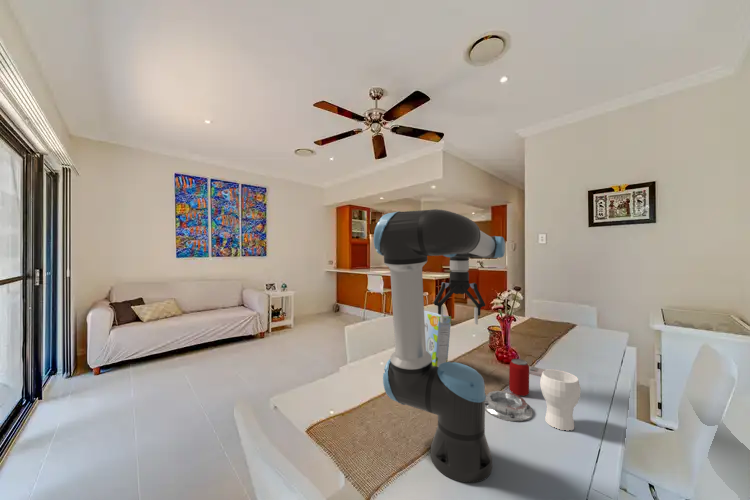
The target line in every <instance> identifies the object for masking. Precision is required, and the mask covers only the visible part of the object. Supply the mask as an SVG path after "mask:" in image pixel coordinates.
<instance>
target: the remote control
mask: <svg viewBox="0 0 750 500" xmlns="http://www.w3.org/2000/svg"><path fill="white" fill-rule="evenodd" d="M528 366H529V365H528ZM545 370H546V369H545V368H539V367H535V366H531V365H530V366H529V375H532V376H535V377H536V376H537V377H540V378H541V376H542V372H543V371H545Z"/></svg>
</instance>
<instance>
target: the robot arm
mask: <svg viewBox="0 0 750 500" xmlns="http://www.w3.org/2000/svg"><path fill="white" fill-rule="evenodd" d="M373 231H374V233H373V245H374V249H375V252H376V253H378V254H379V255H380V256H383V262H384V263H383V264H384V265H385V266H386V267H387V268H388V269H389V271H390V272H389V273H390V286H391V288H390V289H391V302H392V303H391V304H392V320H393V321H392V322H393V335H394V336H393V337H394V351H393V353H392V354H391V355H390V358H389V359H388V360H387V362H386V363H385V366H384V369H383V370H384V373H383V375H382V384H383V388H384V392H385V394H386V395H387V397H389V399H390V400H392V401H395V402H397V403H398V404H400V405H403V406H409V407H412V408H414V409H418V410H422V411H425V412H426V413H430V414H433V415H436V416H437V428H436V430H435V432H434V435H433V439H432V441H431V445H430V459H431V462H432V464H433V465H434V467H435V468H436V469H437V470H438V471H439V472H440V473H441V474H443V475H445V476H446V477H447V478H450V479H452V480H455V481H458V482H461V483H462V482H463V483H477V482H481V480H482V481H484V480H485V478H486V479H487V478H488V477H489V476H490V475H491V473H492V470H493V457H492V452H491V450H490V447H489V443H488V440H487V437H486V432H485V431H486V427H485V424H486V423H485V422H486V411H485V399H486V396H487V394H486V386H485V379H484V377H483V376H482V374H481V373H480V372H478V370H476V369H474V368H473V367H471V366H468V365H466V364H463V363H461V362H454V361H453V362H451V361H447V362H444V363H442V364H440V365H439V367H436V366H433V365H432V357H431V355H430V354H429V353H428V352H427V351H426V341H425V320H424V310H425V307H424V306H425V304H424V303H425V302H424V301H425V300H424V283H423V282H424V281H423V280H424V279H423V267H424V266H425V264H427V262H428V256H429V257H430V256H431V257H433V256H434V257H439V256H443V257H445V258H449V270H450V272H449V282H444V281H443V282H441V286H440V287H441V288H440V289H439V291H438V293H437V294H436V296H435V299H434V300H433V304H434V306H437V313H438V314H439V315H441V323H443V315H444V306H443V305H444V304H445V303H446V302H447V301H448V300H449V298H451V296H452V295H453V294H455V295H459V294H460V295H464V294H466V296H467V297H468V298H469V299H470V300H471V301H472V303H473V304H474V305H475V306H474V312H473V313H474V314H473V316H474V319H473V321H474V322H473V323H474V324H475V325H479V323H478V322H479V320H478V319H479V317H480V316H481V309H482V307H486V303H485V301H484V299H483V297H482V296H481V293H480V291H479V289H478V284H477V283H476V282H472V283H470V272H469V270H470V258H482V259H484V258H485V259H487V258H488V259H489V258H490V259H499V258H501V259H502V258H503V257H504V256H505V252H506V242H505V238H504V237H503V236H496V235H493V236H490V235H489V234H487V233H485V232H484V231H482V230H480V227H479V226H478V224H477V223H476V222H475V221H473V220H472V219H470V218H468V217H466V216H464V215H462V214H459V213H456V212H453V211H449V210H444V209H437V208H436V209H423V210H409V211H408V210H407V211H398V210H397V211H395V212H394V211H393V212H389V213H386V214H383V215H382V216H381V217H380V219H378V222H377V223H376V225H375V227H374V230H373ZM448 287H449V290H448V291H447V293H446V294H445V295H444V294H443V293H444V292H445V291H446V289H447V288H448ZM469 288H471V289H472V290H473V291H474V294H475V296H476V298H477V299H478V301H479V302H478V301H477V299H475V298H474V296H473V295H472V294H471V292H470V291H469ZM442 295H444V296H443V298H442V299H441V297H442Z"/></svg>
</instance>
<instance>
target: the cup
mask: <svg viewBox="0 0 750 500" xmlns="http://www.w3.org/2000/svg"><path fill="white" fill-rule="evenodd" d="M539 381H540V384H539V385H540V386H539V387H540V389H541V394H542V396H543V398H544V400H545V402H546V403H545V404H546V411H545V412H546V413H545V418H544V420H545V422H546V423H547V425H549V426H550V427H552V428H554V427H555V428H554V429H556V428H557V429H556V430H559V429H560V431H564V430H566V431H565V432H570V431H569V430H571V431H573V430H574V429H575V422H574V420H575V419H574V416H573V414H574V409H575V407H576V406H577V404H578V403H579V400H580V398H581V393H582V392H581V385H580V381H579V378H578V377H577V376H576V375H574V374H573V373H570V372H568V371H563V370H561V369H560V370H559V369H545V371H543V372H542V376H541V377H540V380H539Z"/></svg>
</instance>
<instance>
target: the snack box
mask: <svg viewBox="0 0 750 500" xmlns="http://www.w3.org/2000/svg"><path fill="white" fill-rule="evenodd" d="M424 320H425V341H426V351H427V352H428V353H429V354H430V355H431V357H432V365H433V366H436V367H439V365H440V364H442V363H444V362H449V361H448V360H449V347H450V336H451V326H452V316H451V315H450V316H449V315H446V314H443V323H441V315H439V314H438V312H433V311H429V310H425V309H424Z"/></svg>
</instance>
